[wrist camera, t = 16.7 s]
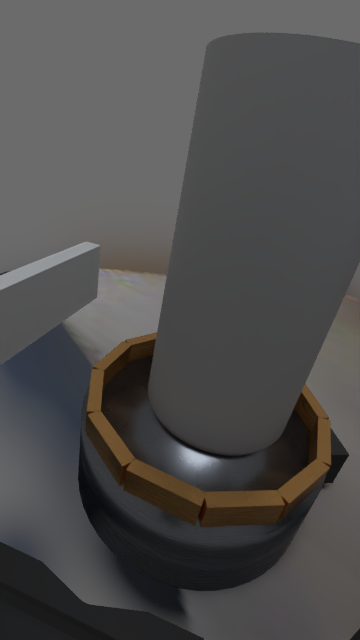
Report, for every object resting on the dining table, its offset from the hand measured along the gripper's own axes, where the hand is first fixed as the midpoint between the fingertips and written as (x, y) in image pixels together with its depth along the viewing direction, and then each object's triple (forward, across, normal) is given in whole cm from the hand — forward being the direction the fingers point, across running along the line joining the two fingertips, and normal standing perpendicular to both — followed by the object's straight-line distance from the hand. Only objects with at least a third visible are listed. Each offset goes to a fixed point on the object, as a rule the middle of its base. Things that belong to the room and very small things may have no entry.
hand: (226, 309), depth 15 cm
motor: (+10, +1, -21) cm, 23 cm away
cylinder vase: (+10, +1, -14) cm, 18 cm away
